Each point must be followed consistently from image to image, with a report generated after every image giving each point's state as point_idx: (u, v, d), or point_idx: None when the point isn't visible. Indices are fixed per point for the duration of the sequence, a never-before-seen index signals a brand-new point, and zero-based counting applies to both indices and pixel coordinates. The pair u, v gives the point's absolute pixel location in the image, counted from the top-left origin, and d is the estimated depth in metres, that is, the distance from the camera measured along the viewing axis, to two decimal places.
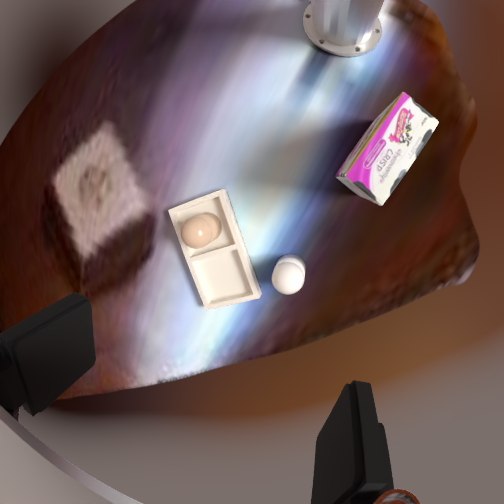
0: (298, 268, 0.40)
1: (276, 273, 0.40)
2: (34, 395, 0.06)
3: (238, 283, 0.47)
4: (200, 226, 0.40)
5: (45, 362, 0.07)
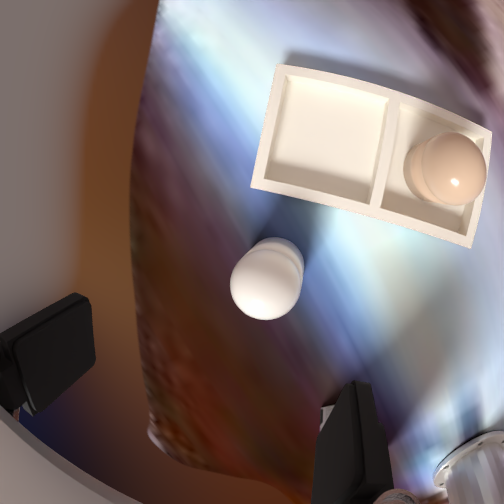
0: None
1: (290, 281, 0.17)
2: (34, 395, 0.06)
3: (298, 155, 0.21)
4: (470, 197, 0.13)
5: (45, 362, 0.07)
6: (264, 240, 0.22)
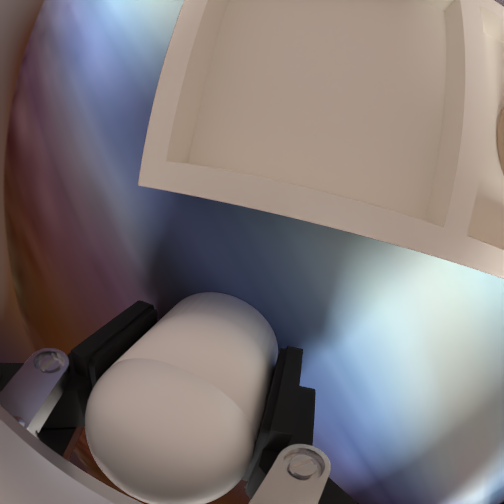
0: None
1: (213, 468, 0.05)
2: None
3: (260, 103, 0.08)
4: None
5: None
6: (185, 304, 0.10)
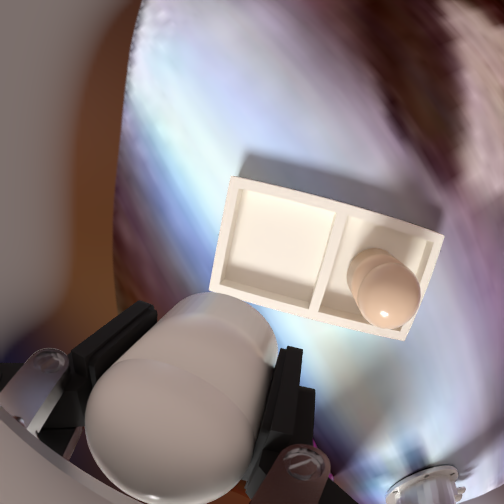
0: None
1: (212, 468, 0.05)
2: None
3: (250, 260, 0.25)
4: (404, 323, 0.17)
5: None
6: (185, 304, 0.10)
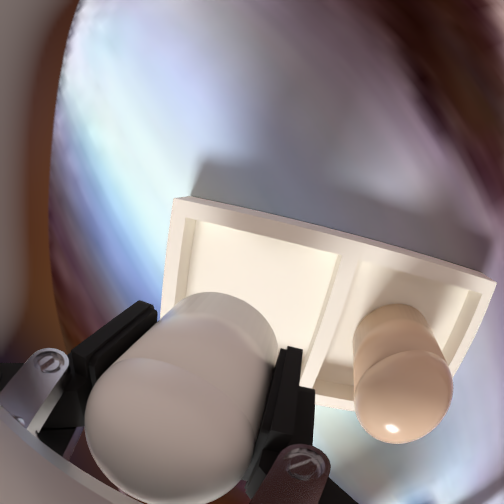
0: None
1: (212, 468, 0.05)
2: None
3: None
4: None
5: None
6: (185, 303, 0.10)
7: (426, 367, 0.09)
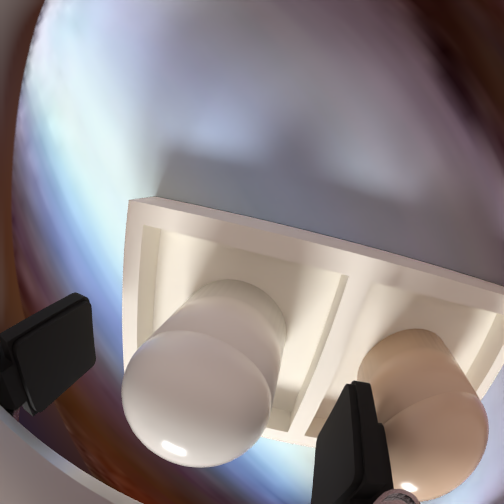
0: None
1: (239, 420, 0.06)
2: (34, 395, 0.06)
3: None
4: None
5: (45, 362, 0.07)
6: (206, 289, 0.11)
7: (453, 416, 0.06)
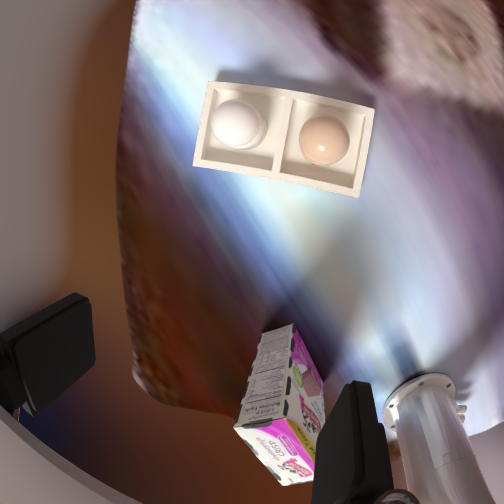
0: (242, 143, 0.25)
1: (250, 111, 0.23)
2: (34, 395, 0.06)
3: None
4: (343, 149, 0.23)
5: (45, 362, 0.07)
6: None
7: (321, 115, 0.23)
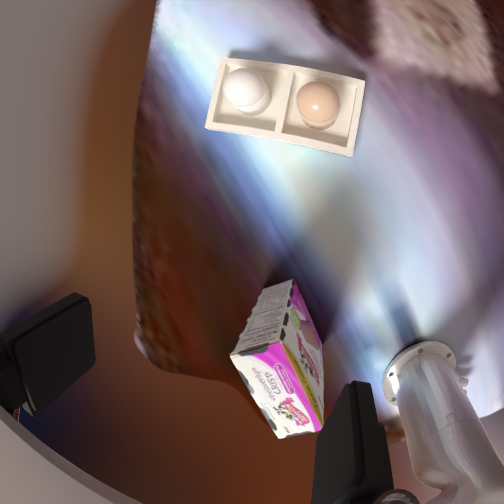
0: (248, 103, 0.28)
1: (256, 76, 0.26)
2: (34, 395, 0.06)
3: (234, 109, 0.33)
4: (334, 106, 0.25)
5: (45, 362, 0.07)
6: None
7: None
